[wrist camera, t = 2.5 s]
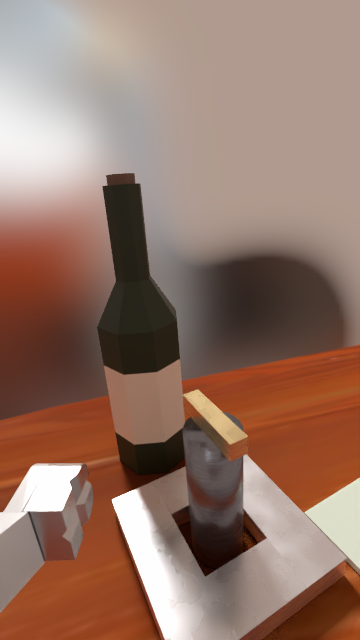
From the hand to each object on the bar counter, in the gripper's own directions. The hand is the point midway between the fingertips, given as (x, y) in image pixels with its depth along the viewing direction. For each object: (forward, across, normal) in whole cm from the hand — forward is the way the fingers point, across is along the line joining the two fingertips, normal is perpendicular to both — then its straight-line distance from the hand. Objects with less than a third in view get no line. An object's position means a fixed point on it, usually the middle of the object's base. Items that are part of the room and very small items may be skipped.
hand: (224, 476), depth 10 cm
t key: (+12, 0, +20) cm, 24 cm away
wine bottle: (+24, +7, +21) cm, 32 cm away
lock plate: (+12, 0, +20) cm, 24 cm away
